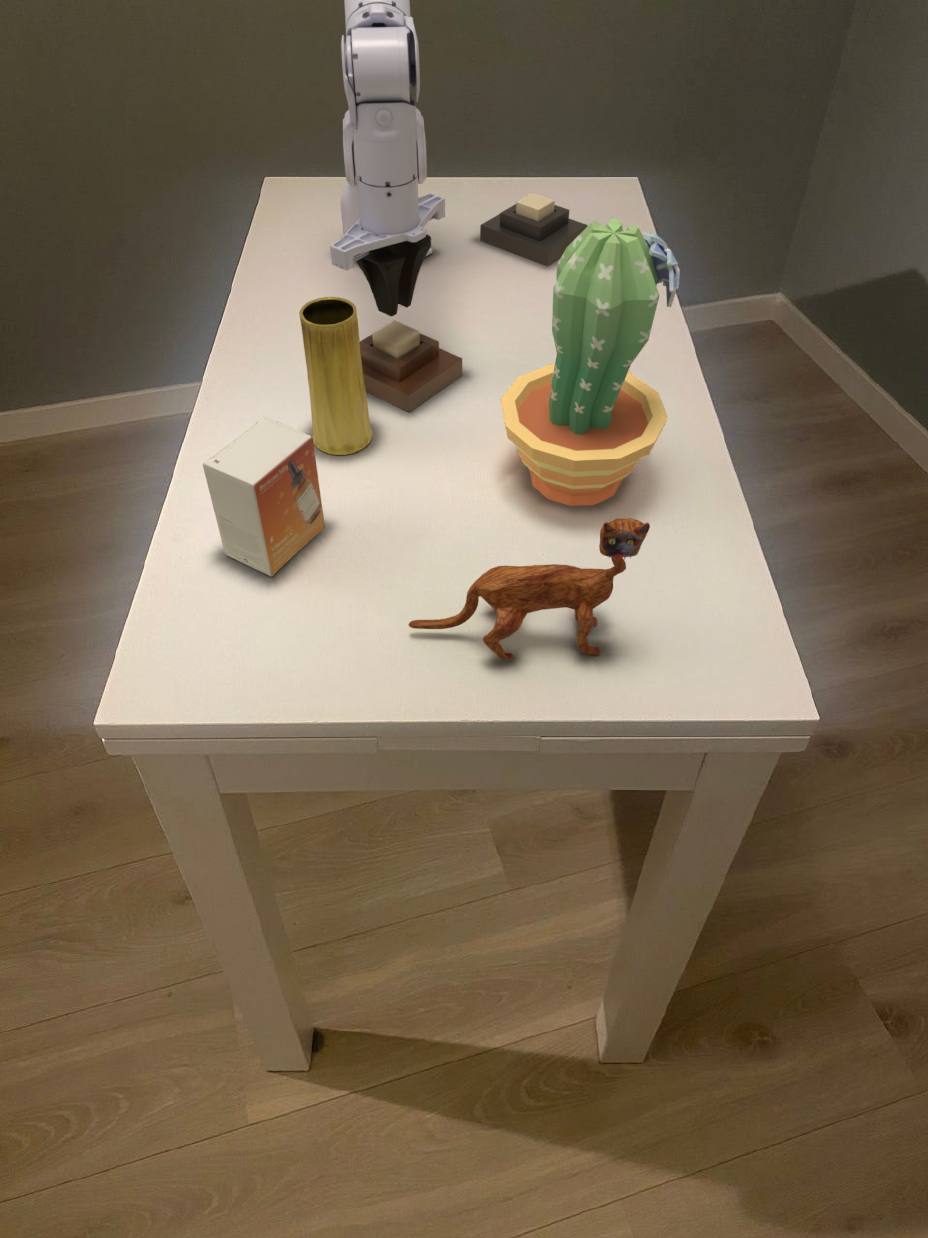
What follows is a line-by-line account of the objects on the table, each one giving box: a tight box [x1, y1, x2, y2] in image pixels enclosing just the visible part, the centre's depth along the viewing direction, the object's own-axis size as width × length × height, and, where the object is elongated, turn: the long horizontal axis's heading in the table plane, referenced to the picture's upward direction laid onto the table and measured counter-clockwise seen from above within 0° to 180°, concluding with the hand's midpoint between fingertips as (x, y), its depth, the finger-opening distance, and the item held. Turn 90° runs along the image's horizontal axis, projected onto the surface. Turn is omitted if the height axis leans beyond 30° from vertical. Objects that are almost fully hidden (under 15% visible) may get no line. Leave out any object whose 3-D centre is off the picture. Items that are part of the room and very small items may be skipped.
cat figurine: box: [408, 517, 651, 660], centre depth 73 cm, size 18×7×14 cm, turn 89°
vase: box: [299, 296, 373, 456], centre depth 90 cm, size 6×6×14 cm
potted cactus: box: [500, 217, 681, 507], centre depth 83 cm, size 15×15×25 cm
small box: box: [202, 416, 326, 577], centre depth 82 cm, size 8×6×10 cm
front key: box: [371, 319, 421, 359], centre depth 100 cm, size 4×4×2 cm
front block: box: [359, 325, 463, 414], centre depth 102 cm, size 11×9×4 cm
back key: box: [515, 192, 556, 222], centre depth 121 cm, size 4×4×2 cm
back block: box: [479, 203, 589, 267], centre depth 123 cm, size 11×9×4 cm
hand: (394, 307), depth 97 cm, fingers closed
